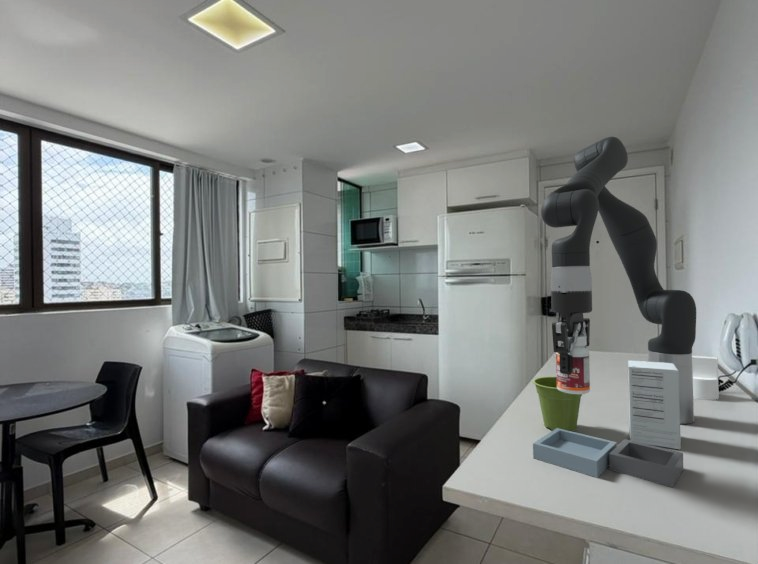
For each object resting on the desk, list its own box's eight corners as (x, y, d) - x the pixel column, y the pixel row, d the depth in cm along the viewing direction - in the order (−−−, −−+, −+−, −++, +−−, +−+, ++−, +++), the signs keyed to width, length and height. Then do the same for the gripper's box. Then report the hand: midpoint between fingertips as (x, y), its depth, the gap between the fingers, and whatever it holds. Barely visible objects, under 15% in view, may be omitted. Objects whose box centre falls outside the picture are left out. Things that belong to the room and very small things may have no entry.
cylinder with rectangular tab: (716, 394, 124) (714, 355, 124) (721, 401, 116) (720, 360, 116) (679, 390, 129) (678, 353, 129) (682, 397, 121) (681, 358, 121)
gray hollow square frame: (624, 453, 83) (624, 439, 83) (683, 468, 76) (683, 452, 76) (609, 469, 76) (609, 453, 76) (672, 487, 69) (672, 470, 69)
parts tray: (557, 441, 90) (556, 427, 90) (617, 457, 81) (616, 442, 81) (533, 458, 81) (532, 443, 81) (597, 477, 73) (596, 461, 73)
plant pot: (527, 419, 104) (526, 376, 104) (573, 419, 104) (572, 376, 104) (544, 437, 92) (543, 388, 92) (596, 436, 92) (595, 387, 92)
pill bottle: (552, 391, 81) (551, 336, 81) (561, 385, 86) (560, 333, 86) (586, 396, 77) (584, 338, 77) (593, 390, 82) (592, 334, 82)
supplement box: (681, 450, 83) (679, 370, 84) (629, 442, 88) (628, 366, 88) (676, 435, 92) (674, 362, 92) (629, 428, 96) (627, 359, 97)
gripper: (566, 288, 89) (567, 363, 89) (537, 289, 79) (539, 374, 79) (602, 288, 84) (604, 368, 84) (577, 289, 74) (578, 380, 74)
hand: (572, 370), depth 81 cm, fingers closed on pill bottle, 6 cm apart
